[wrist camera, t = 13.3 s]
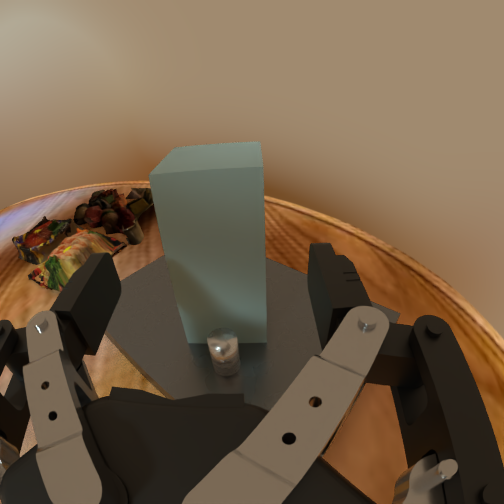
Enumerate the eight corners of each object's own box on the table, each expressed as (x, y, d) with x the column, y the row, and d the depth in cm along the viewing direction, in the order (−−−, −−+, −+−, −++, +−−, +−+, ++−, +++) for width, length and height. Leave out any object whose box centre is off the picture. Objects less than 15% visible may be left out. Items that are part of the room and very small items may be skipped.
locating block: (188, 343, 18) (148, 175, 12) (198, 292, 23) (174, 147, 17) (266, 342, 18) (263, 166, 12) (264, 290, 22) (260, 141, 16)
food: (108, 196, 47) (103, 177, 45) (194, 210, 40) (191, 186, 38) (5, 264, 31) (-5, 242, 29) (69, 312, 24) (54, 283, 22)
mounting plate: (90, 316, 22) (73, 279, 20) (206, 244, 31) (201, 209, 29) (288, 489, 11) (294, 472, 9) (394, 327, 20) (409, 286, 18)
